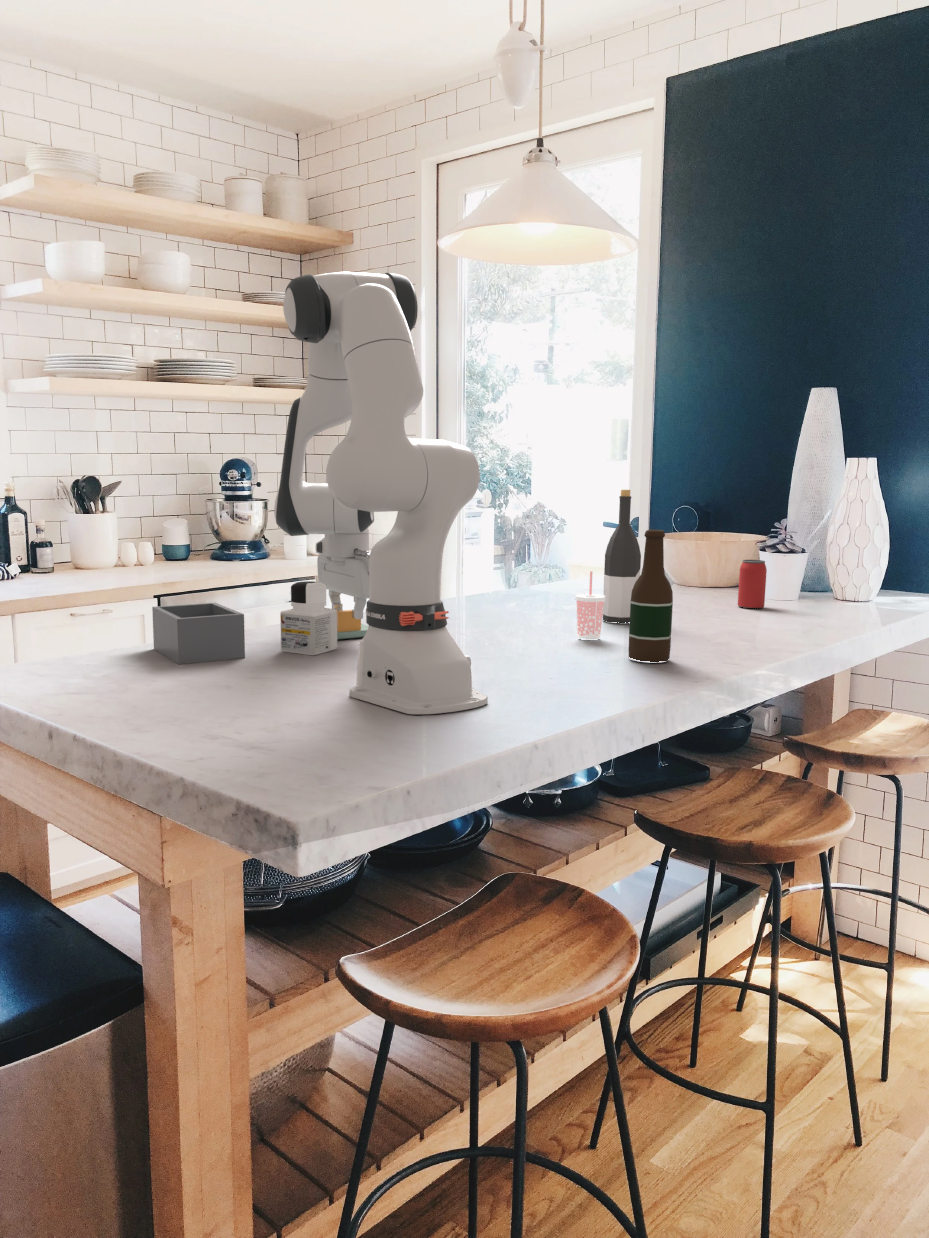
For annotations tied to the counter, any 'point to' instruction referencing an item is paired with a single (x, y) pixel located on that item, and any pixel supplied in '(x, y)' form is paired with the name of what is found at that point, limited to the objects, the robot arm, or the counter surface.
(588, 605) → the beverage cup
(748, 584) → the beer can
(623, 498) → the wine bottle
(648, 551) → the beer bottle
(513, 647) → the counter surface
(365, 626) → the lid
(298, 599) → the container
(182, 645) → the tub
